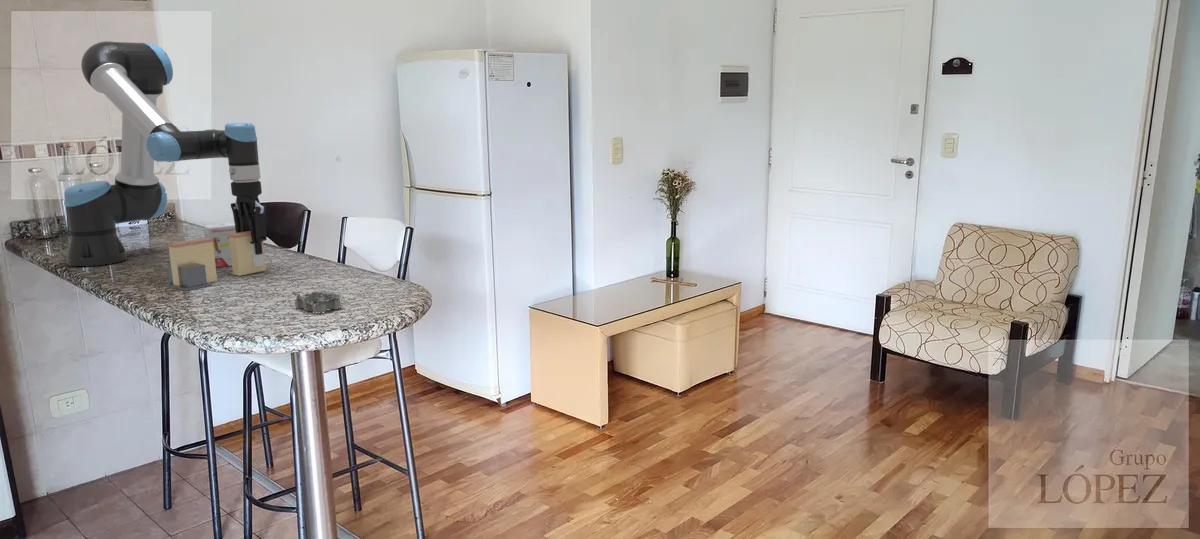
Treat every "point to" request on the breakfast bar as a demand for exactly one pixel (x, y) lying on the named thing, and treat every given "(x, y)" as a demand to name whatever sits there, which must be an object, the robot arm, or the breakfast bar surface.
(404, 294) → the breakfast bar surface
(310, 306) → the grey flat lobed block
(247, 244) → the stub
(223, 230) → the ink box
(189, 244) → the ticket holder
